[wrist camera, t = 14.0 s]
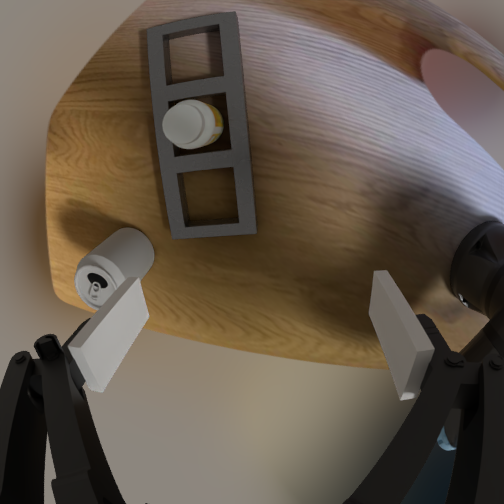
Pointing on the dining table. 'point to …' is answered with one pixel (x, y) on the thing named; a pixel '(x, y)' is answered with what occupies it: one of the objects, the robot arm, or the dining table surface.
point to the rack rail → (235, 157)
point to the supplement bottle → (193, 124)
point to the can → (113, 265)
